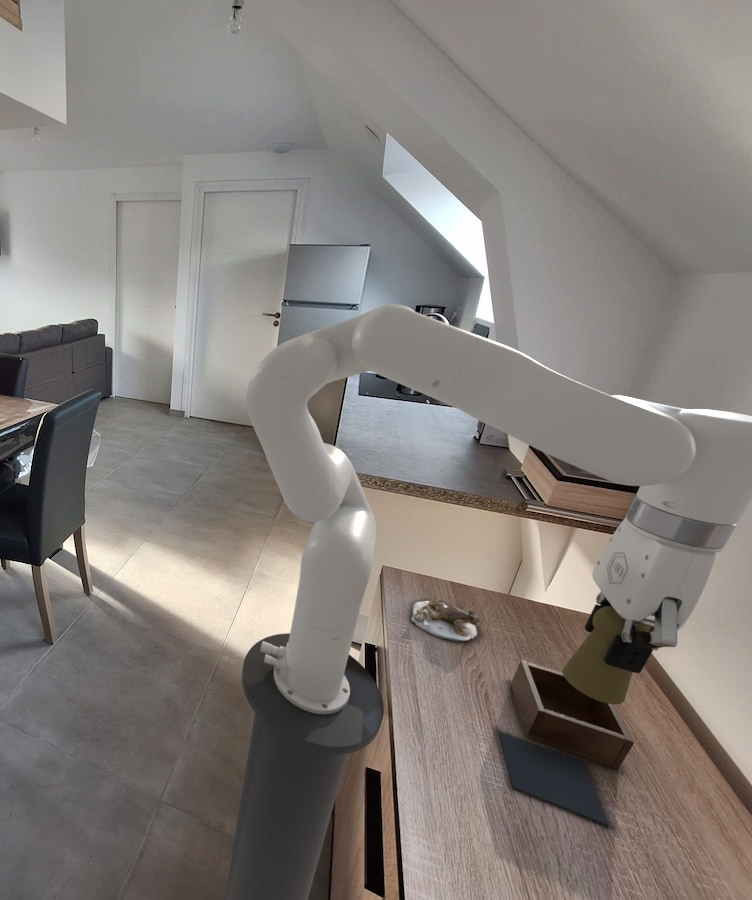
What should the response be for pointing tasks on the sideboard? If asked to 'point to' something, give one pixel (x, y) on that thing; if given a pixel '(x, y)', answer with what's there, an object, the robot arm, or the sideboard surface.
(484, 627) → the sideboard surface
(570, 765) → the mat
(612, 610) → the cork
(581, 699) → the open wooden box
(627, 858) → the sideboard surface
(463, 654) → the sideboard surface
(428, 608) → the frog figurine
